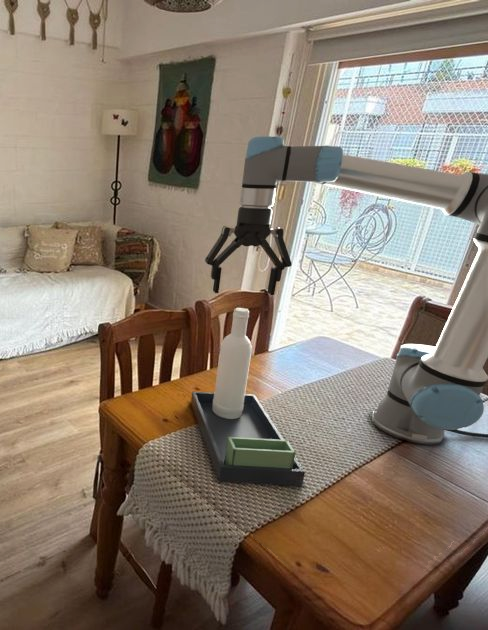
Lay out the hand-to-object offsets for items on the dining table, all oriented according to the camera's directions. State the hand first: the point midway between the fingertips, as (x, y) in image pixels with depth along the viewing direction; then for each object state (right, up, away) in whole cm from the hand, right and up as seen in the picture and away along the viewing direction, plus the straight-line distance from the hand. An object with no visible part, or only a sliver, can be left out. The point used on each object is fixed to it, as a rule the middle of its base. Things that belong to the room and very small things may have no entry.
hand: (243, 292), depth 111 cm
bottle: (0, -33, +11) cm, 35 cm away
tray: (-1, -37, +1) cm, 37 cm away
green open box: (-2, -41, -12) cm, 43 cm away
